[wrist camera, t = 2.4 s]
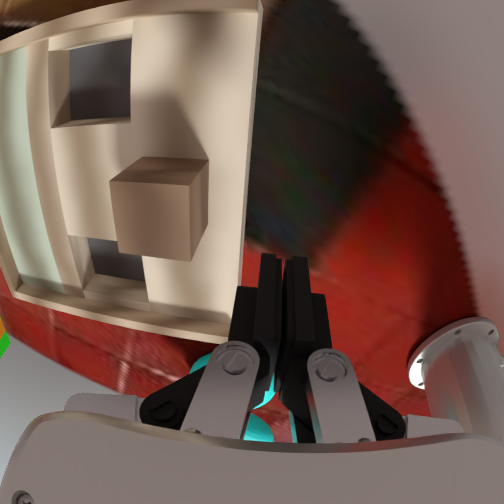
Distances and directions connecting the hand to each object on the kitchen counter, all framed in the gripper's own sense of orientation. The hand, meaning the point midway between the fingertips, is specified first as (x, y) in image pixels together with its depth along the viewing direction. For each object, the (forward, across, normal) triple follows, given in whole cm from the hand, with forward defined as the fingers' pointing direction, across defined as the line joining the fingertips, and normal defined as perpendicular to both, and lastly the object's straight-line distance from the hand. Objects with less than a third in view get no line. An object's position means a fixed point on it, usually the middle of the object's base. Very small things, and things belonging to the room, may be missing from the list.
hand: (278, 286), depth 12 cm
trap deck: (+12, +14, +1) cm, 19 cm away
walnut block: (+9, +7, +1) cm, 11 cm away
